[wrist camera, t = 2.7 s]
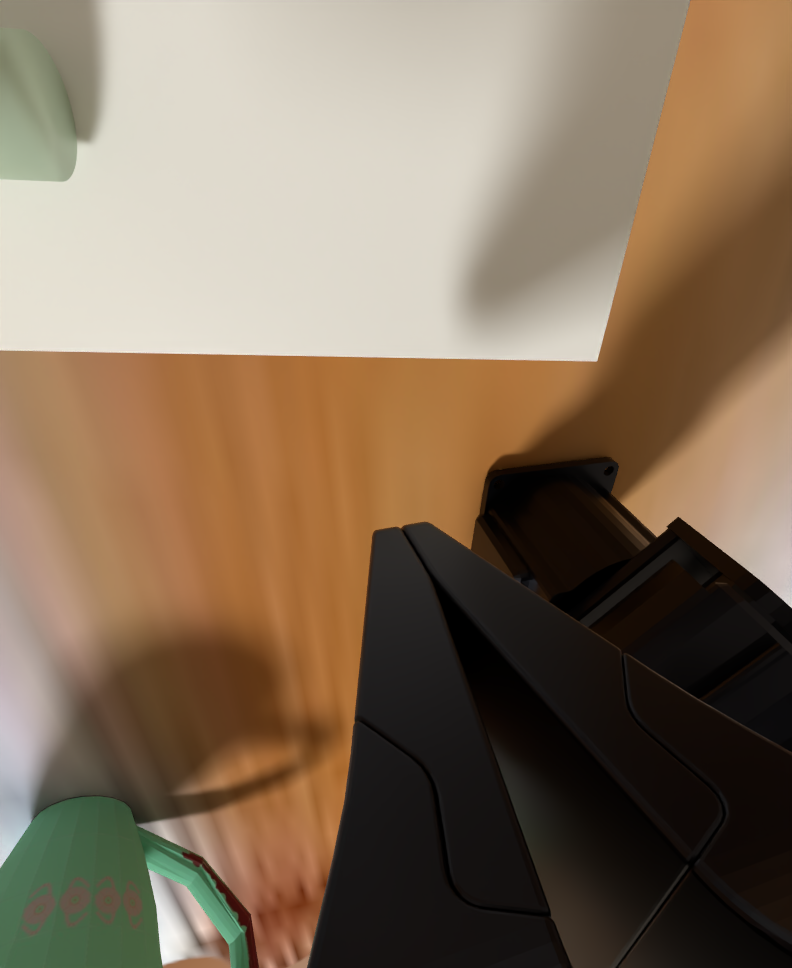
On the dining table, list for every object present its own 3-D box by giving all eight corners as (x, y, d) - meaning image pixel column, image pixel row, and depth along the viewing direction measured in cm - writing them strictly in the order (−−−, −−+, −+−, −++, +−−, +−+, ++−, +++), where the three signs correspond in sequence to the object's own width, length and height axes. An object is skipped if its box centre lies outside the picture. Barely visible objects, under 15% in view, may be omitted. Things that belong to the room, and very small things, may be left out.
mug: (-50, 870, 29) (-151, 1160, 21) (5, 759, 25) (-90, 1055, 17) (216, 866, 36) (217, 1080, 28) (286, 780, 33) (310, 994, 25)
